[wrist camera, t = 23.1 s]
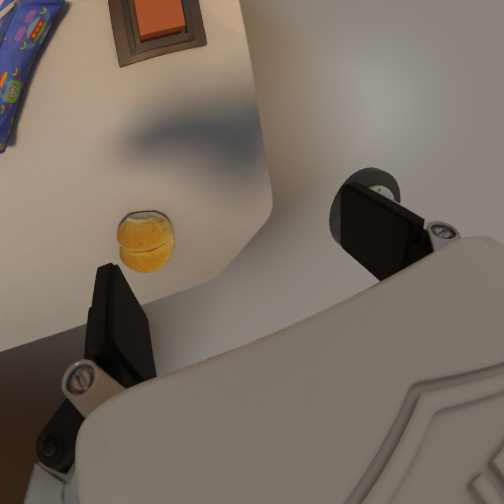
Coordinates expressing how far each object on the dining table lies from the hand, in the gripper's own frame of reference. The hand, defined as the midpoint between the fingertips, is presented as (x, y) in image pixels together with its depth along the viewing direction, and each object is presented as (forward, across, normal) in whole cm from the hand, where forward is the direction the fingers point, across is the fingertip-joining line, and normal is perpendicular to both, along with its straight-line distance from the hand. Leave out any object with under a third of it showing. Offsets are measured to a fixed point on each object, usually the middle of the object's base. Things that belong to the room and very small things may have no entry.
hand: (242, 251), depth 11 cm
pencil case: (+28, +18, -19) cm, 39 cm away
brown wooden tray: (+28, -2, -20) cm, 34 cm away
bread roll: (+28, +8, +12) cm, 32 cm away
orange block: (+27, -2, -17) cm, 32 cm away
